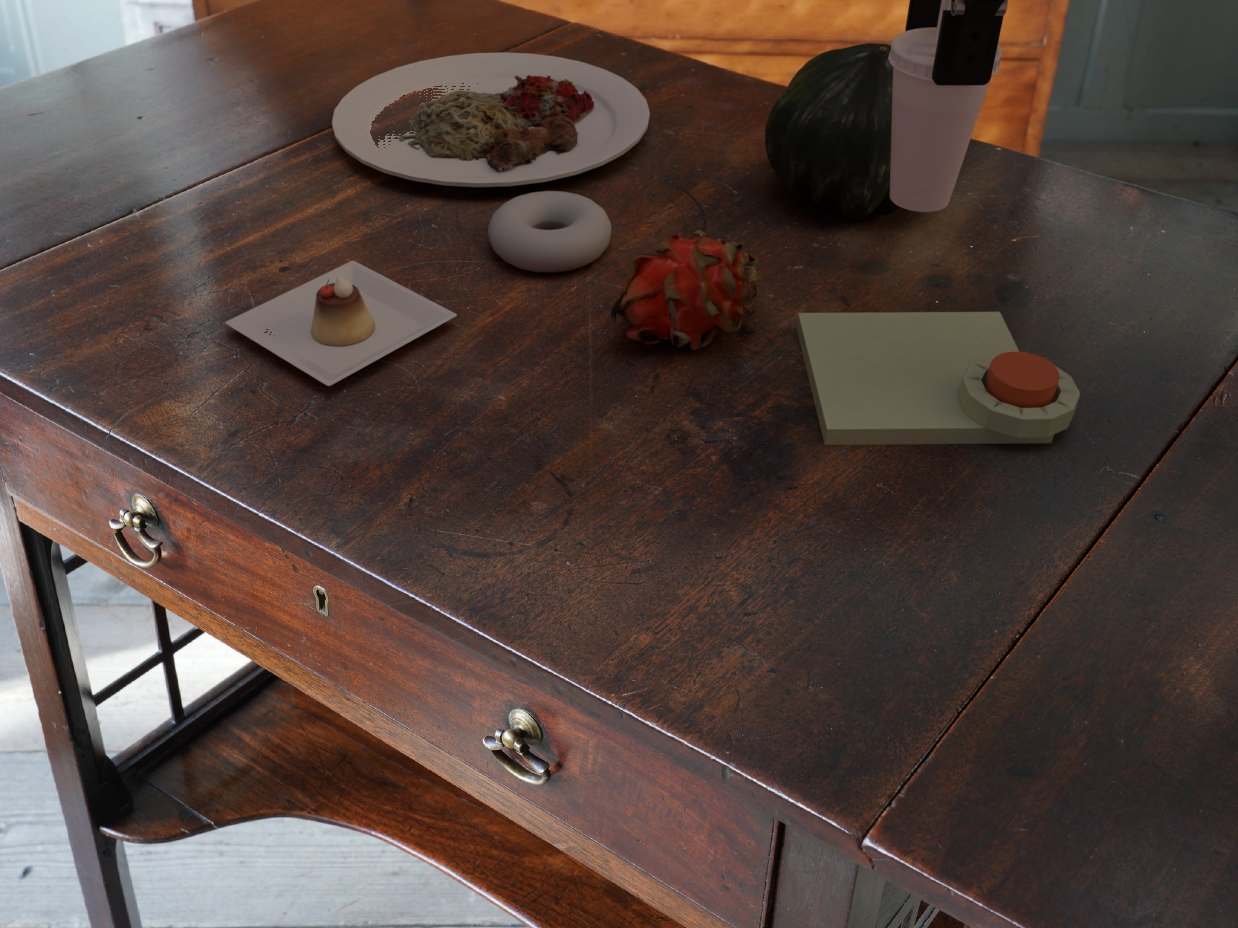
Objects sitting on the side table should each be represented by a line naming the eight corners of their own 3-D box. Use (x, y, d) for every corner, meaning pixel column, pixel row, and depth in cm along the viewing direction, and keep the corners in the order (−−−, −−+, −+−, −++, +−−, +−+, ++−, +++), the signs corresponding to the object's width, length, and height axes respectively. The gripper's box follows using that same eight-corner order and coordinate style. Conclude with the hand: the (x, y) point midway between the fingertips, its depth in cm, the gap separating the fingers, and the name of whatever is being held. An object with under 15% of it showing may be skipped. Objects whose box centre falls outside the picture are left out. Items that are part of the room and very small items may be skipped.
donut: (465, 247, 100) (540, 294, 94) (461, 209, 98) (538, 254, 92) (559, 210, 105) (637, 252, 99) (558, 172, 103) (637, 213, 97)
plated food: (270, 165, 111) (263, 130, 109) (433, 53, 132) (430, 21, 130) (571, 229, 102) (570, 192, 100) (693, 97, 123) (694, 65, 121)
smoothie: (848, 185, 78) (879, -41, 69) (932, 168, 80) (973, -55, 71) (905, 230, 73) (946, -6, 64) (992, 210, 75) (1044, -21, 66)
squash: (809, 81, 113) (791, -9, 99) (969, 117, 108) (974, 28, 94) (758, 221, 112) (731, 151, 97) (917, 263, 107) (914, 196, 93)
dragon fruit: (766, 337, 92) (624, 394, 90) (718, 240, 94) (577, 293, 91) (799, 295, 84) (644, 356, 81) (745, 189, 86) (591, 246, 83)
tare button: (1043, 370, 82) (1048, 350, 81) (1062, 409, 79) (1068, 389, 78) (978, 370, 82) (982, 351, 81) (995, 409, 79) (1000, 390, 78)
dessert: (226, 335, 89) (213, 278, 86) (354, 272, 96) (346, 217, 93) (330, 399, 83) (320, 340, 80) (459, 327, 90) (454, 271, 87)
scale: (1018, 327, 91) (1026, 292, 89) (1082, 454, 79) (1093, 418, 77) (796, 328, 91) (800, 293, 89) (827, 457, 79) (832, 420, 77)
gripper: (1149, -271, 53) (1053, 121, 64) (1034, -325, 66) (972, 7, 78) (978, -272, 53) (912, 121, 64) (897, -326, 66) (855, 8, 78)
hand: (945, 56), depth 71 cm, fingers closed on smoothie, 6 cm apart
